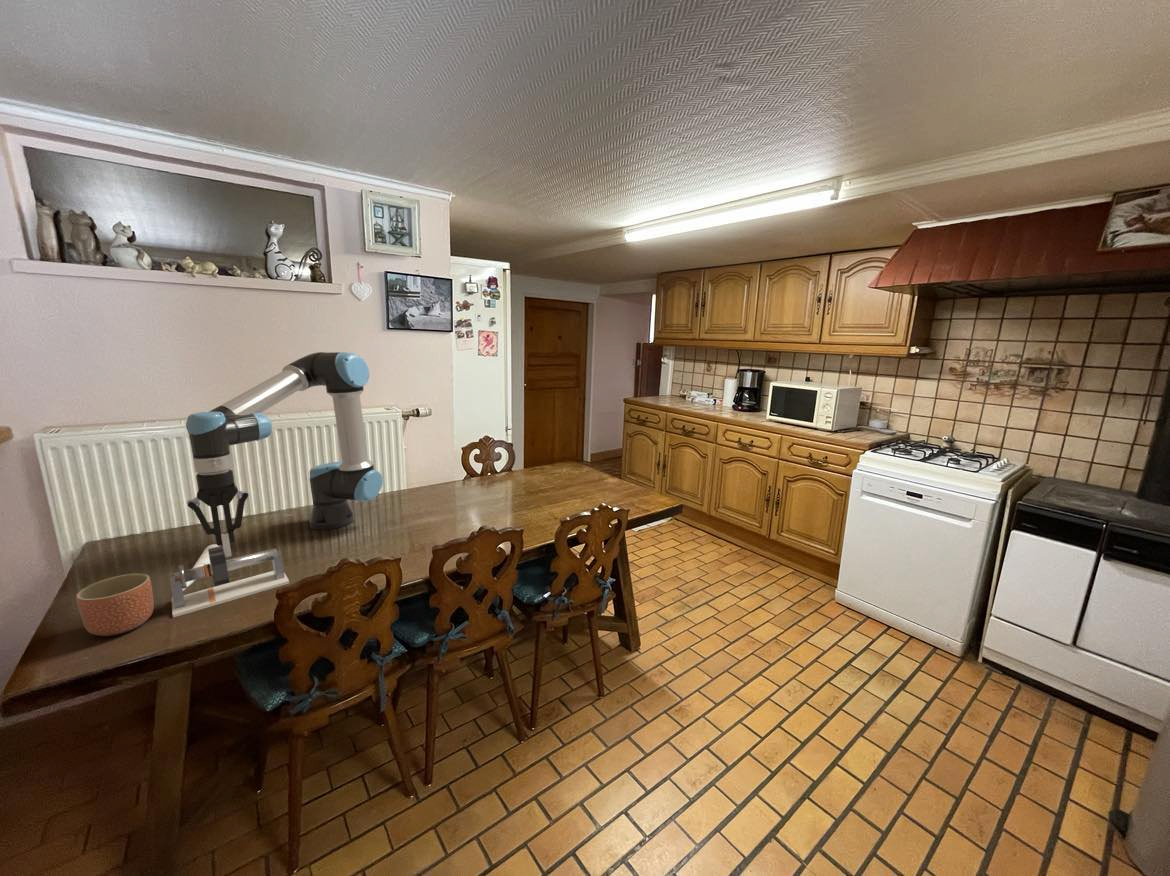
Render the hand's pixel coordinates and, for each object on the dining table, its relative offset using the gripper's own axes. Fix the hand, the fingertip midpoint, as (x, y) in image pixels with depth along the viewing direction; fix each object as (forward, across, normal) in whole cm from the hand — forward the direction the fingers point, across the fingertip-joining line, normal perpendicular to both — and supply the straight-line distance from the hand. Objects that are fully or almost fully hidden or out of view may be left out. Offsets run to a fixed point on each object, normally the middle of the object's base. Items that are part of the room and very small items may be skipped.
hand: (227, 554), depth 124 cm
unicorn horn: (+12, -6, +20) cm, 24 cm away
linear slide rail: (+11, 0, 0) cm, 11 cm away
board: (+11, 0, 0) cm, 11 cm away
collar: (+7, -2, 0) cm, 7 cm away
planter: (+11, -22, -2) cm, 24 cm away
